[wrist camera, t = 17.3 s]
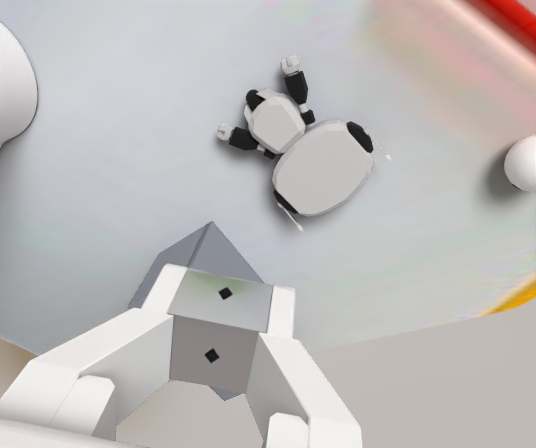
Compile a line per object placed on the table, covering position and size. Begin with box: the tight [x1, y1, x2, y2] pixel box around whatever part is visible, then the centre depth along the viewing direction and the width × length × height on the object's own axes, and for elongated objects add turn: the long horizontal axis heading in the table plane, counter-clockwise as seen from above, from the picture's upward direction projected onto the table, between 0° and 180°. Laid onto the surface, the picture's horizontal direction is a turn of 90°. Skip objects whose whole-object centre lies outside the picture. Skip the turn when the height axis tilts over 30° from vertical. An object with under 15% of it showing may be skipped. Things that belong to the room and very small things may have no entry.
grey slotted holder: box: [128, 221, 265, 401], centre depth 52 cm, size 9×17×10 cm, turn 36°
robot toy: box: [216, 55, 392, 231], centre depth 44 cm, size 12×4×15 cm
